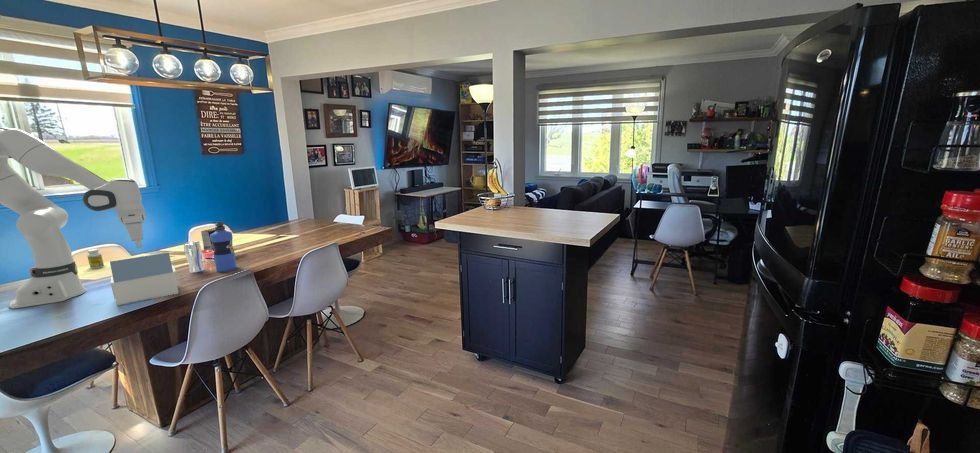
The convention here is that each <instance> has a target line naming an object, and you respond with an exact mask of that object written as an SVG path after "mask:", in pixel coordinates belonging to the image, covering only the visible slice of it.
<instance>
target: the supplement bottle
mask: <svg viewBox="0 0 980 453" xmlns="http://www.w3.org/2000/svg"><path fill="white" fill-rule="evenodd" d="M87 253H88V254H87V260H88V264H89V267H90V269H99V268H102V267H104V266H105V264H104V260H103V256H102V255H103V254H102V253H101V252H99V248H92V249H88V250H87Z"/></svg>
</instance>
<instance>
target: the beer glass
mask: <svg viewBox="0 0 980 453" xmlns="http://www.w3.org/2000/svg"><path fill="white" fill-rule="evenodd" d="M201 246H202V245H201V243H200V241H199V240H195V241H194V240H193V241H188V242H187V241H186V242H184V243H183V251H184V255H185V258H186V260H187V263H188V267H189V268H188V269H189V271H188V272H189V273H192V274H194V273H200V272H203V271H204V270H205V269H204V267H203V263H202V259H203V258H202V257H203V256H202V255H203V254H202V253H203V251H202V247H201Z"/></svg>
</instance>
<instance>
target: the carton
mask: <svg viewBox="0 0 980 453" xmlns="http://www.w3.org/2000/svg"><path fill="white" fill-rule="evenodd" d="M172 269H173V272H171V273H165V274H160V275H154V276H149V277H143V278H138V279H132V280H127V281H121V282H116V283H114V281H113V276H112V275H111V276H110V286H111V292H112V295H113V298H114V300H115V301H116V305H117V307H120V306H121V307H122V306H126V305H130V304H136V303H139V302H145V301H149V300H156V299H158V298H159V297H160V298H164V296H165V297H168V295H169V296H173V294H174V295H178V293H180V292H179V281H178V277H177V276H178V275H177V271H176V268H175V266H174V264H172Z"/></svg>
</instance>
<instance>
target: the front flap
mask: <svg viewBox="0 0 980 453" xmlns="http://www.w3.org/2000/svg"><path fill="white" fill-rule="evenodd" d="M170 255H171V254H170V252H161V253H156V254H150V255H149V254H148V255H143V256H138V257H136V256H135V257H131V258H125V259H124V258H123V259H118V260H111V261H109V263H110V268H111V276H113V281H114V283H116V282H121V281H127V280H132V279H138V278H143V277H149V276H154V275H160V274H165V273H171V272H173V269H172V265H173V264H172V261H171V256H170Z"/></svg>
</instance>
